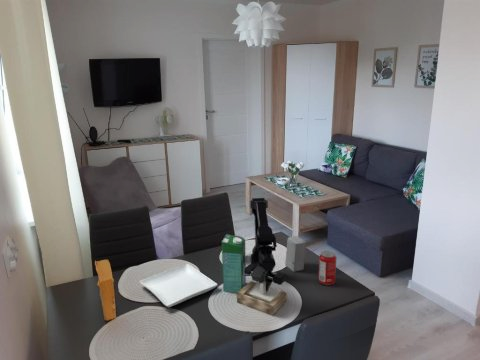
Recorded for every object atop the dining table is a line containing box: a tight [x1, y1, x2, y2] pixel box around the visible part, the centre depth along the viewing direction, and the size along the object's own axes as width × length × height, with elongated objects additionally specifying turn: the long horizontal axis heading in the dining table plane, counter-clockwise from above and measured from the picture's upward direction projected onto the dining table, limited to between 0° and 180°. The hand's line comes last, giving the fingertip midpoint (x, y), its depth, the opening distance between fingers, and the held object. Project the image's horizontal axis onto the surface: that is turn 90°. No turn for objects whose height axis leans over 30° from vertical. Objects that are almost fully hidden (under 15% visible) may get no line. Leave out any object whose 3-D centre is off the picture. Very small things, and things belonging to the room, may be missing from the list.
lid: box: [245, 280, 286, 302], centre depth 167 cm, size 15×10×6 cm, turn 56°
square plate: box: [139, 263, 218, 308], centre depth 178 cm, size 27×27×4 cm
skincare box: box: [284, 235, 307, 273], centre depth 193 cm, size 8×7×16 cm
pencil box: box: [236, 280, 287, 317], centre depth 165 cm, size 18×12×5 cm, turn 56°
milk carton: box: [221, 233, 247, 293], centre depth 175 cm, size 9×9×25 cm
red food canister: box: [318, 250, 337, 286], centre depth 179 cm, size 8×8×15 cm
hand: (265, 290), depth 168 cm, fingers closed on lid
